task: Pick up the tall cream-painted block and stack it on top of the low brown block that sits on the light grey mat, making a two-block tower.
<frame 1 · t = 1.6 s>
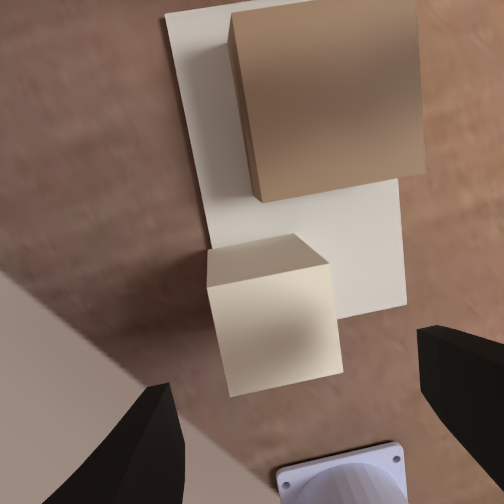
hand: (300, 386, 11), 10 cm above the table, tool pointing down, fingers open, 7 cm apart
cream block: (258, 282, 20), resting on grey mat
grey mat: (298, 176, 19), on the table
brown block: (312, 110, 18), resting on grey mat
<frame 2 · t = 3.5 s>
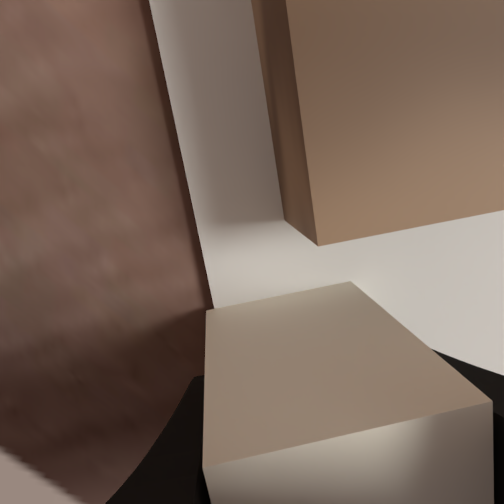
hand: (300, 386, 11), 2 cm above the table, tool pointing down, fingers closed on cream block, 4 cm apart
cream block: (290, 361, 12), resting on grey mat, touching gripper
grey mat: (360, 186, 11), on the table
brown block: (390, 71, 10), resting on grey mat
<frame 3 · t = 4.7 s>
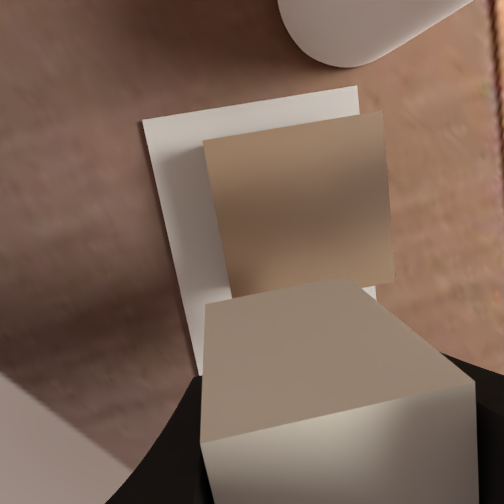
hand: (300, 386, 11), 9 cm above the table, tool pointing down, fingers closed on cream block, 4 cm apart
cream block: (287, 353, 12), point 8 cm above the table, touching gripper
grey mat: (275, 266, 19), on the table
brown block: (288, 206, 18), resting on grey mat
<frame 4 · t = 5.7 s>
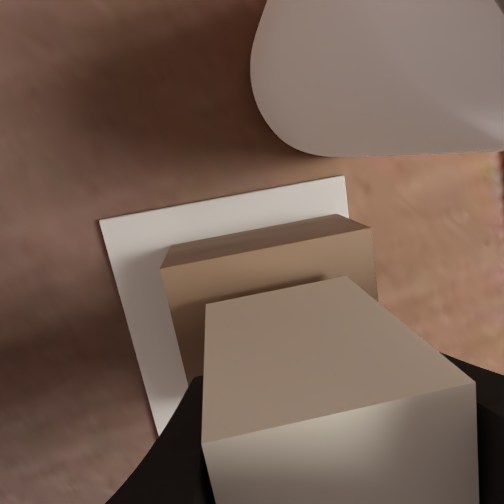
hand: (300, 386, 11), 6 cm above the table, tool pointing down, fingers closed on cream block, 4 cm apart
cream block: (287, 353, 12), point 5 cm above the table, touching gripper
can: (328, 74, 15), on the table
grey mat: (256, 367, 17), on the table
brown block: (268, 306, 16), resting on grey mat
when the fingers open (6 cm above the table, at t = 6.4 s): cream block stays where it is, resting on brown block.
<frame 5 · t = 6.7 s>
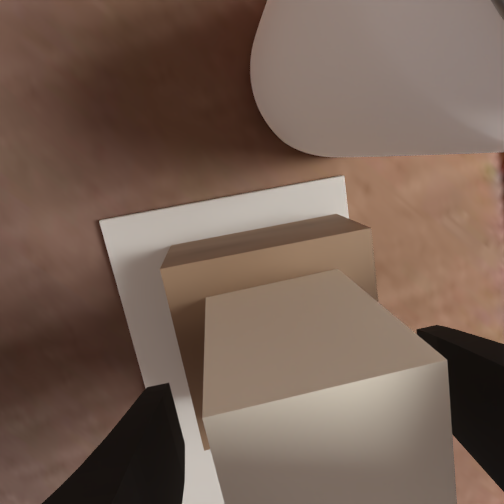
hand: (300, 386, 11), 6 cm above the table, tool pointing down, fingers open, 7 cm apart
cream block: (283, 343, 13), point 4 cm above the table, touching brown block
can: (327, 74, 15), on the table
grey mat: (256, 367, 17), on the table
brown block: (268, 307, 16), resting on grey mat, touching cream block
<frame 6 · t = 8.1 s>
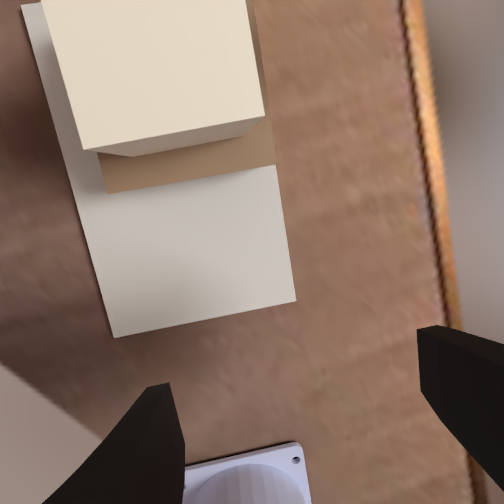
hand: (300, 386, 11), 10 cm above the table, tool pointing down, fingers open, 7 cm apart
cream block: (175, 86, 15), point 4 cm above the table, touching brown block
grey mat: (175, 170, 19), on the table
brown block: (181, 103, 18), resting on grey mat, touching cream block
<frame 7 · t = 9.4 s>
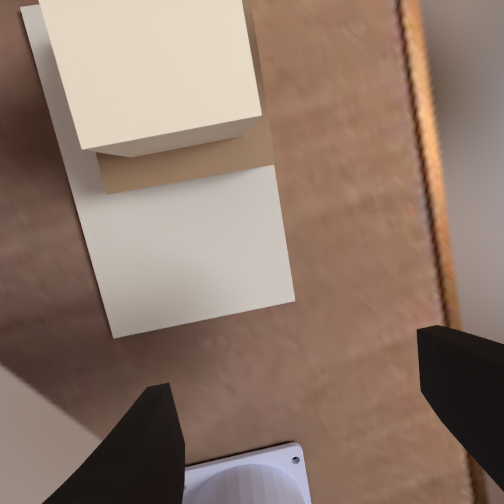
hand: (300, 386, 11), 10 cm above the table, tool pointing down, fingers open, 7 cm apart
cream block: (173, 87, 15), point 4 cm above the table, touching brown block
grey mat: (174, 171, 19), on the table
brown block: (180, 104, 18), resting on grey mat, touching cream block
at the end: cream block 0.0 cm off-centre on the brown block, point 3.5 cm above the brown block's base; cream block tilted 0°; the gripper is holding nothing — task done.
